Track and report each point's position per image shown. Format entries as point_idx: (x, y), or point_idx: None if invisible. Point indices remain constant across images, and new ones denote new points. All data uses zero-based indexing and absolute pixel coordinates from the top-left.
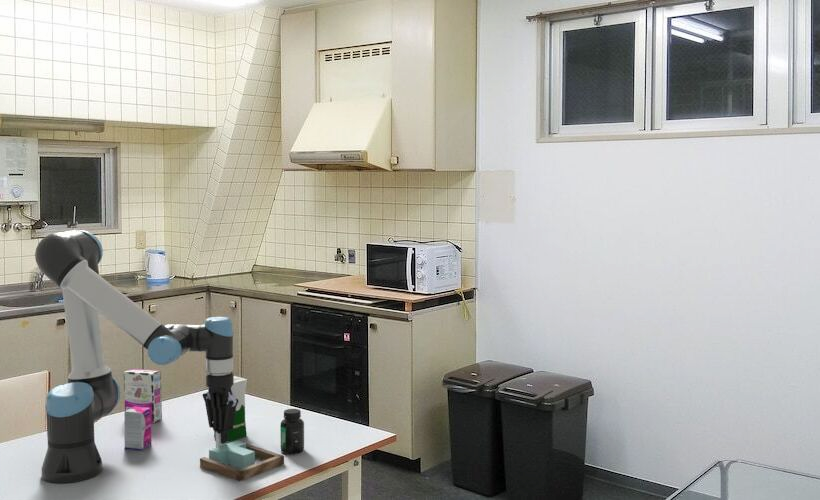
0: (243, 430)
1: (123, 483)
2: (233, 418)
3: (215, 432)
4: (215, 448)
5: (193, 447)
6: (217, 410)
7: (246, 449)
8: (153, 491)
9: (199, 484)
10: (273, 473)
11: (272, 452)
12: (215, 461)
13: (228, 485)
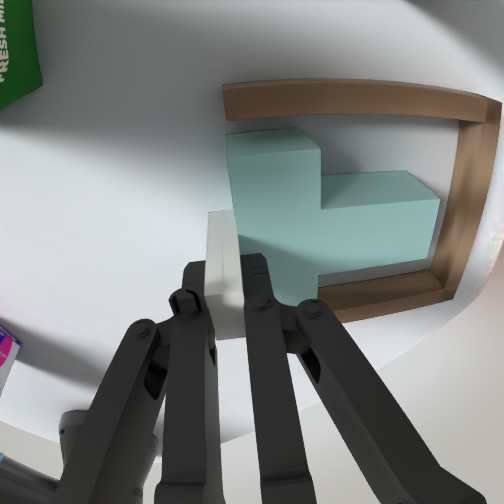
0: (17, 1)
1: None
2: (375, 379)
3: (216, 337)
4: None
5: (35, 238)
6: (217, 468)
7: (393, 208)
8: (300, 405)
9: None
10: None
11: (453, 97)
12: None
13: (425, 308)
